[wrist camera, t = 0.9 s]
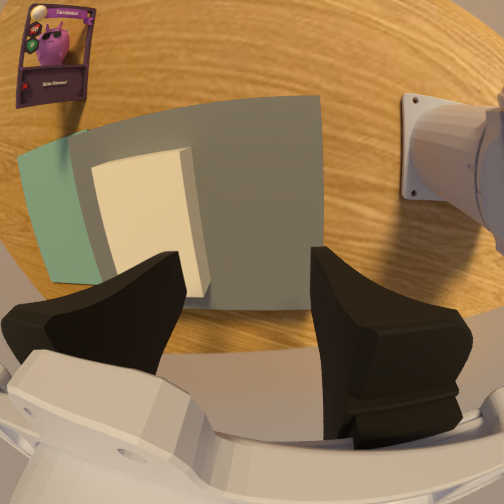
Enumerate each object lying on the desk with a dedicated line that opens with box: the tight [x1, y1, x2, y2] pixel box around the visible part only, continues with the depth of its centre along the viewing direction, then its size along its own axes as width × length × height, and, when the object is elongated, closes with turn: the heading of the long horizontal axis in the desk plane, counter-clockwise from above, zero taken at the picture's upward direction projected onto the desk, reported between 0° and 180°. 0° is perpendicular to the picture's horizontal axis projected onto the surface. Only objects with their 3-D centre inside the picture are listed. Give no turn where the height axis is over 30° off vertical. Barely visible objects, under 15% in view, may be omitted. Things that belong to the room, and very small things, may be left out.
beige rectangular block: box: [91, 147, 211, 297], centre depth 17 cm, size 6×9×2 cm, turn 4°
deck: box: [68, 96, 324, 310], centre depth 19 cm, size 17×14×4 cm
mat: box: [17, 129, 103, 285], centre depth 23 cm, size 11×15×1 cm
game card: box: [16, 4, 96, 109], centre depth 14 cm, size 7×5×9 cm
